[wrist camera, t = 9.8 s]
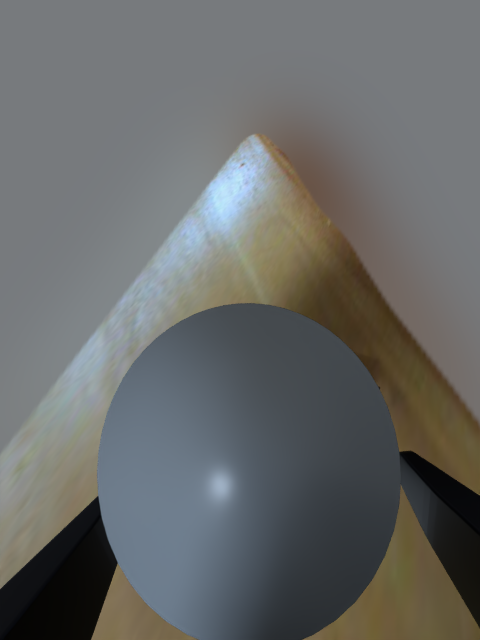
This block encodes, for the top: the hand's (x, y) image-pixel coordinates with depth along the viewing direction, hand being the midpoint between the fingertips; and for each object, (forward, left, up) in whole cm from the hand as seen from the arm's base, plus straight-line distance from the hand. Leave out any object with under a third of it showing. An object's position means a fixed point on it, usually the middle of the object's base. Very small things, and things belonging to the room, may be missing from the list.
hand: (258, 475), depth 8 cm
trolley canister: (0, -1, -8) cm, 9 cm away
